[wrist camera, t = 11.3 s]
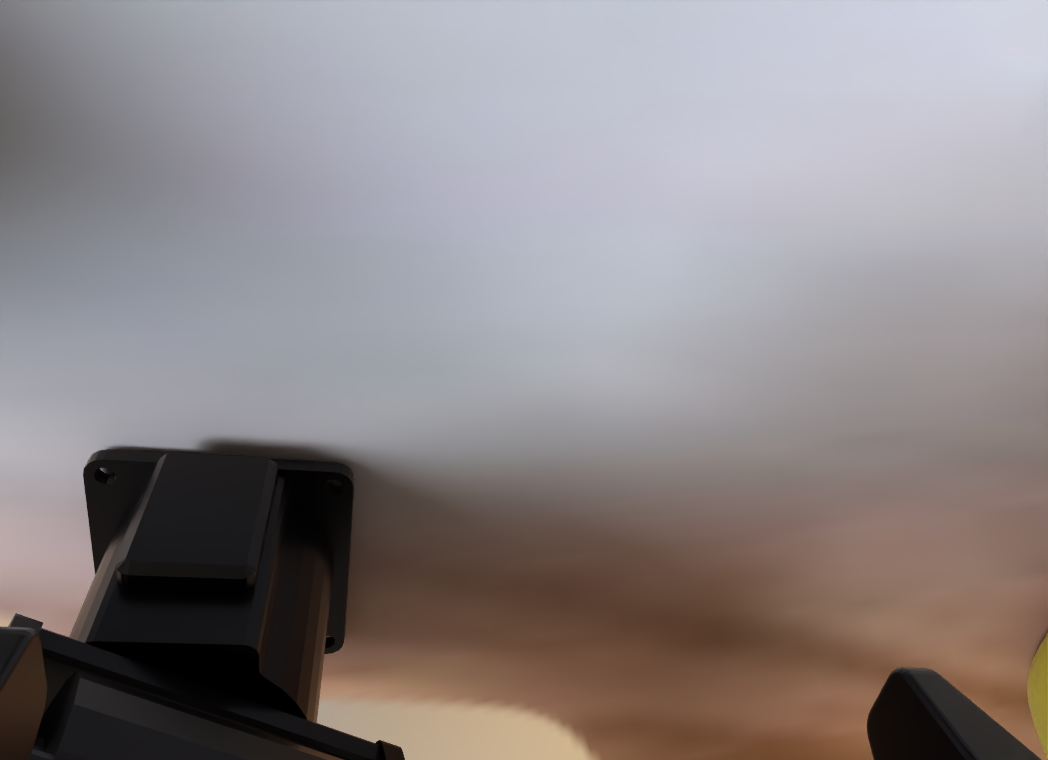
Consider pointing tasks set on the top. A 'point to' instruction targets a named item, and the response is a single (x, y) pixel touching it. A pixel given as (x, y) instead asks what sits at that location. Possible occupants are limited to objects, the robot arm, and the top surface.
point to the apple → (1039, 693)
